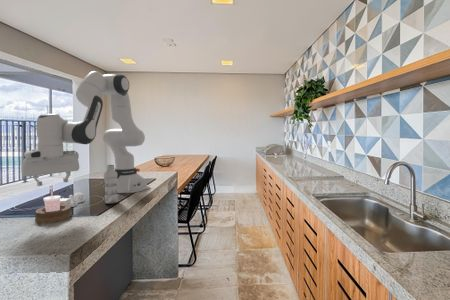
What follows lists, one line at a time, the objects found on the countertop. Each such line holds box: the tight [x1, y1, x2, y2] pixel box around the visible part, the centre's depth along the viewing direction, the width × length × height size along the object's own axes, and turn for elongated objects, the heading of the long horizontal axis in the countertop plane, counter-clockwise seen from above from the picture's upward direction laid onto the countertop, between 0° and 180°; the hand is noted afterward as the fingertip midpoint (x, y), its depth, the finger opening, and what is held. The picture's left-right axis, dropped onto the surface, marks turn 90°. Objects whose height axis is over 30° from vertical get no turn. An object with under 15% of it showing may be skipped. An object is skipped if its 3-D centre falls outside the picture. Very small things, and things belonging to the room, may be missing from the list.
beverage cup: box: [43, 185, 62, 212], centre depth 105 cm, size 6×6×14 cm
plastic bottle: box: [103, 164, 119, 205], centre depth 126 cm, size 6×7×20 cm
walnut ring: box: [34, 204, 73, 224], centre depth 106 cm, size 12×12×4 cm
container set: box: [60, 191, 85, 208], centre depth 123 cm, size 20×5×6 cm, turn 5°
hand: (53, 183), depth 105 cm, fingers open, 8 cm apart
